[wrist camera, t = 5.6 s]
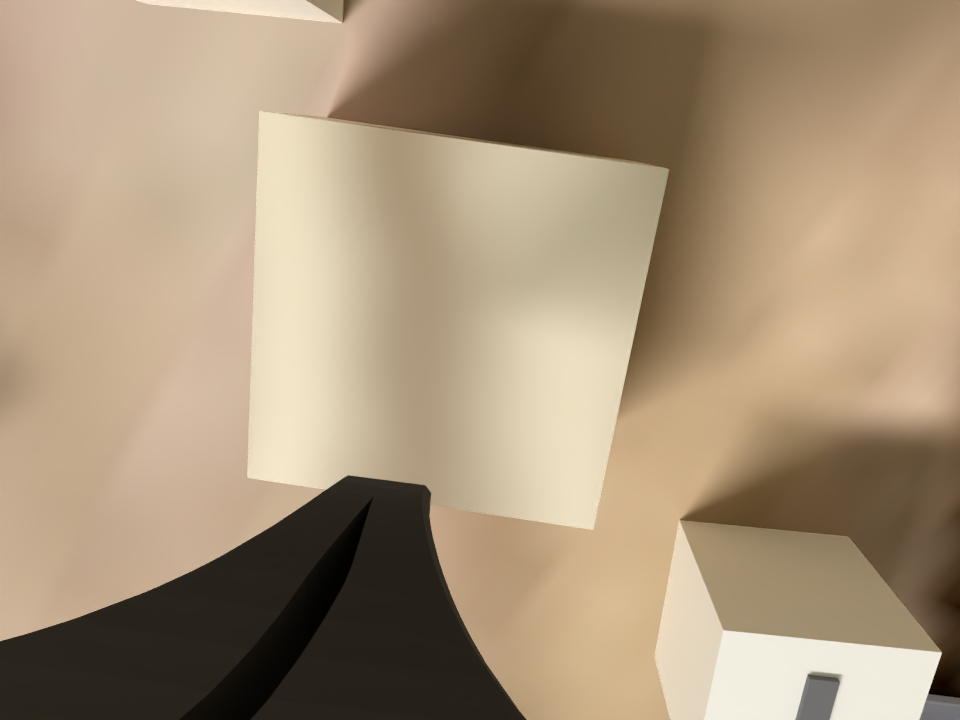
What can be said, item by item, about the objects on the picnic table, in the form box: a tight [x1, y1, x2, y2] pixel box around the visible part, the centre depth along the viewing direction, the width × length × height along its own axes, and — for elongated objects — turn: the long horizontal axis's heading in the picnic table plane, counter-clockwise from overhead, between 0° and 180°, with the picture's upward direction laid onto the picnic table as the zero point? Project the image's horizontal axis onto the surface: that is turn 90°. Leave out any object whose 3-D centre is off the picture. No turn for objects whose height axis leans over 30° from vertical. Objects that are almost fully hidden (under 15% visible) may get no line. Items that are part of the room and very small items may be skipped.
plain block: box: [247, 111, 669, 530], centre depth 17 cm, size 8×8×5 cm
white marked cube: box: [655, 520, 942, 720], centre depth 19 cm, size 5×5×5 cm
